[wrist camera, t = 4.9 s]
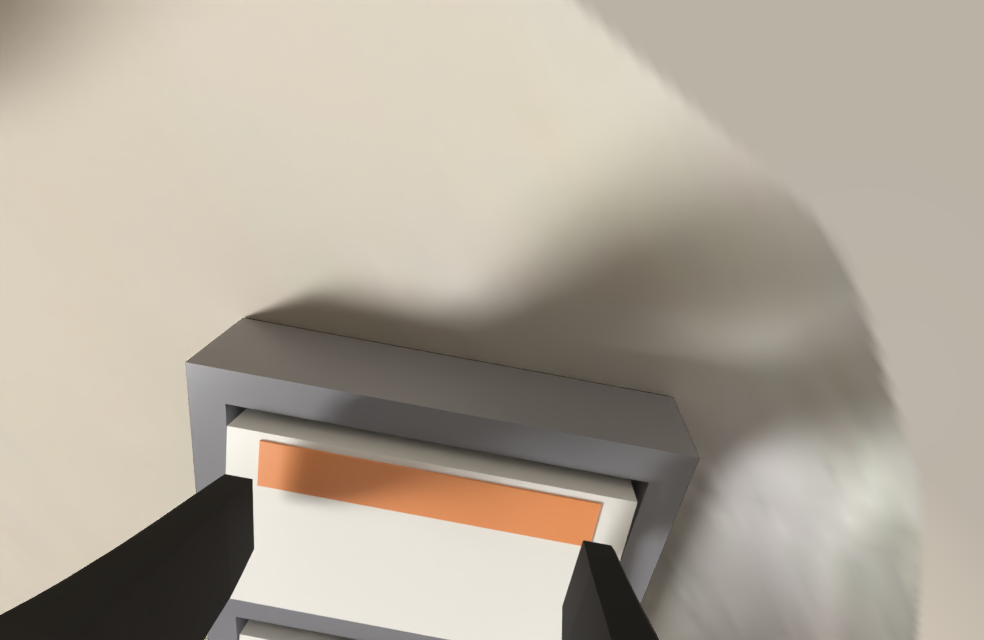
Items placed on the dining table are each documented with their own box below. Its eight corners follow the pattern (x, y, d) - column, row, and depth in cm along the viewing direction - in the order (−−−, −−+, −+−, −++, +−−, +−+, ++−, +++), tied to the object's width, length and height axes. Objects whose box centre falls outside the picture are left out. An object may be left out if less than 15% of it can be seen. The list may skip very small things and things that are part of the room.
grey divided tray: (253, 664, 21) (216, 739, 18) (243, 317, 15) (185, 362, 12) (556, 722, 21) (559, 804, 18) (673, 397, 14) (699, 457, 12)
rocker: (241, 568, 15) (220, 598, 14) (248, 406, 13) (225, 427, 12) (584, 632, 15) (588, 668, 14) (629, 477, 13) (637, 503, 12)
